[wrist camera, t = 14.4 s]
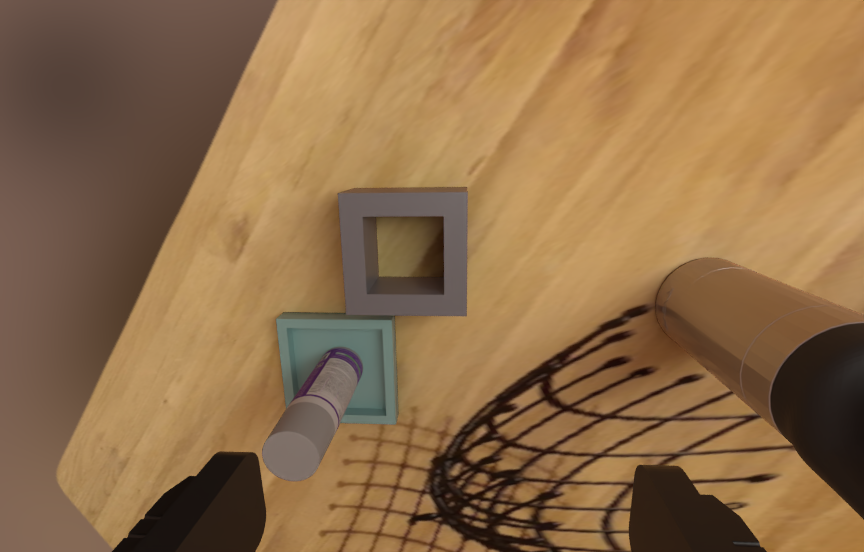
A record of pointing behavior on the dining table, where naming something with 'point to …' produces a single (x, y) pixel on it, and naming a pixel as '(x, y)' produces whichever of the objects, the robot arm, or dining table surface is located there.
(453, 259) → the bay
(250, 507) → the robot arm
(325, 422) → the container
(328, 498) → the dining table surface
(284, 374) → the tray
